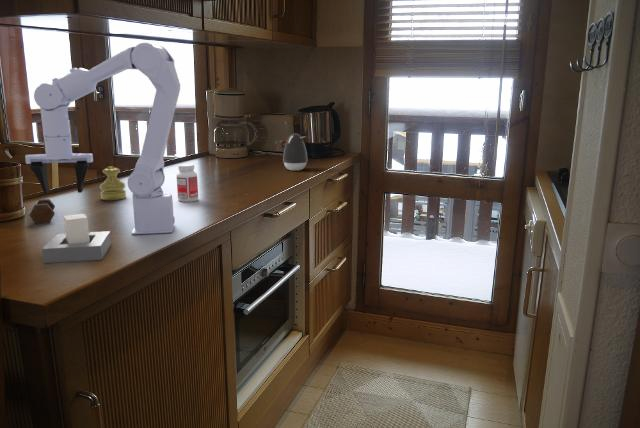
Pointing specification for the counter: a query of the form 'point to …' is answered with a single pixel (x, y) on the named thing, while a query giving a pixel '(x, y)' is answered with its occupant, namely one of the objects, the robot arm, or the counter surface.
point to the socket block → (77, 248)
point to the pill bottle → (187, 183)
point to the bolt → (42, 211)
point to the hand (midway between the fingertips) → (63, 192)
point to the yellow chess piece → (112, 185)
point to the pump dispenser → (295, 153)
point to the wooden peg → (76, 229)
